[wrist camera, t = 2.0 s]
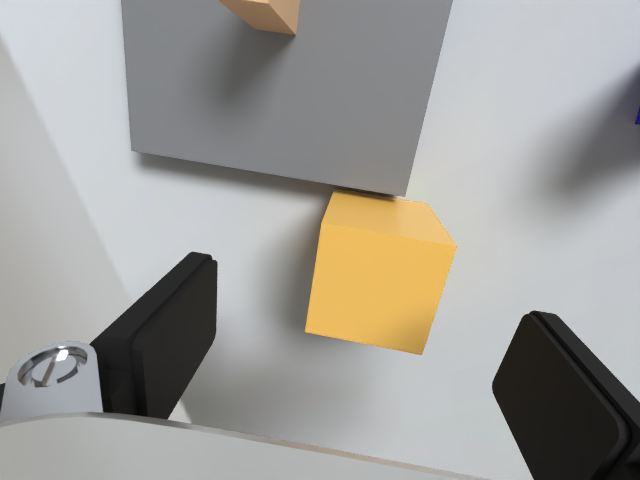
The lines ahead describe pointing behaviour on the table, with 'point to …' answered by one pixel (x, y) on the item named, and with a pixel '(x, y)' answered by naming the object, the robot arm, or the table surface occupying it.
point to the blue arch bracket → (638, 118)
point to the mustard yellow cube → (378, 271)
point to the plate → (285, 84)
